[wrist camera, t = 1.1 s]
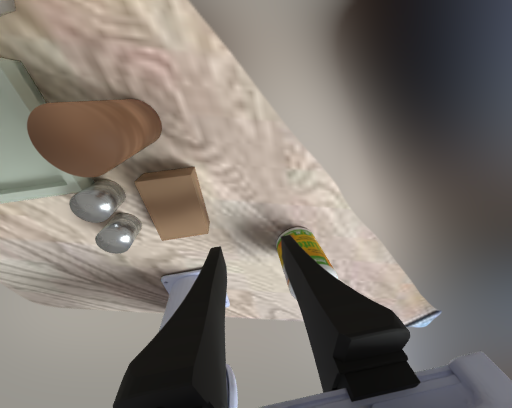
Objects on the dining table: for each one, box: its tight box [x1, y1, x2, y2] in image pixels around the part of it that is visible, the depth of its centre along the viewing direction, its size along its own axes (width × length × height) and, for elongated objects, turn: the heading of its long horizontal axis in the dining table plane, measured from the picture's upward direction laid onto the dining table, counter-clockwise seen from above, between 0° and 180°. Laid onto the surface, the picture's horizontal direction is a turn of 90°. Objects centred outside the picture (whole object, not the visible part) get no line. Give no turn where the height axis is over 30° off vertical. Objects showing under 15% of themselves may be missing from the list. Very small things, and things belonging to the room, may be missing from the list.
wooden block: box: [134, 167, 210, 241], centre depth 19 cm, size 7×5×2 cm
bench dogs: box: [70, 180, 142, 253], centre depth 19 cm, size 7×3×3 cm, turn 6°
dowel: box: [27, 99, 162, 178], centre depth 13 cm, size 4×4×8 cm
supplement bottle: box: [276, 227, 338, 299], centre depth 22 cm, size 5×5×10 cm
